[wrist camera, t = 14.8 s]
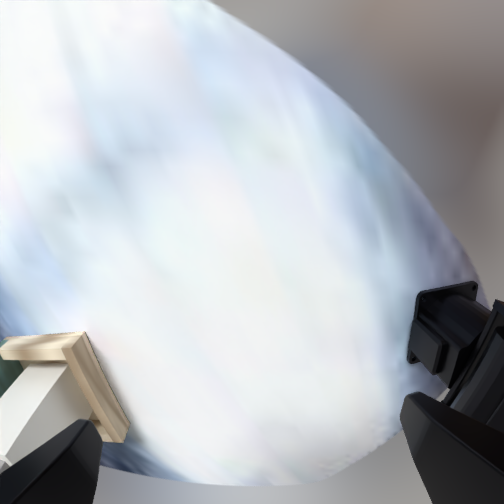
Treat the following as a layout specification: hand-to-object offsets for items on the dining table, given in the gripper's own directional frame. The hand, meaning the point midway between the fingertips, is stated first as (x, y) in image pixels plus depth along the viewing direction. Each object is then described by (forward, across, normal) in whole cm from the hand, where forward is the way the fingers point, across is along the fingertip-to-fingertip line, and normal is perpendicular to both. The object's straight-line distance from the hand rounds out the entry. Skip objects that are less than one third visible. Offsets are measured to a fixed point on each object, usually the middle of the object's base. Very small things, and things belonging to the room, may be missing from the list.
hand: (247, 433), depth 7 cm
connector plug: (+12, +17, +9) cm, 23 cm away
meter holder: (+13, +17, +9) cm, 23 cm away
